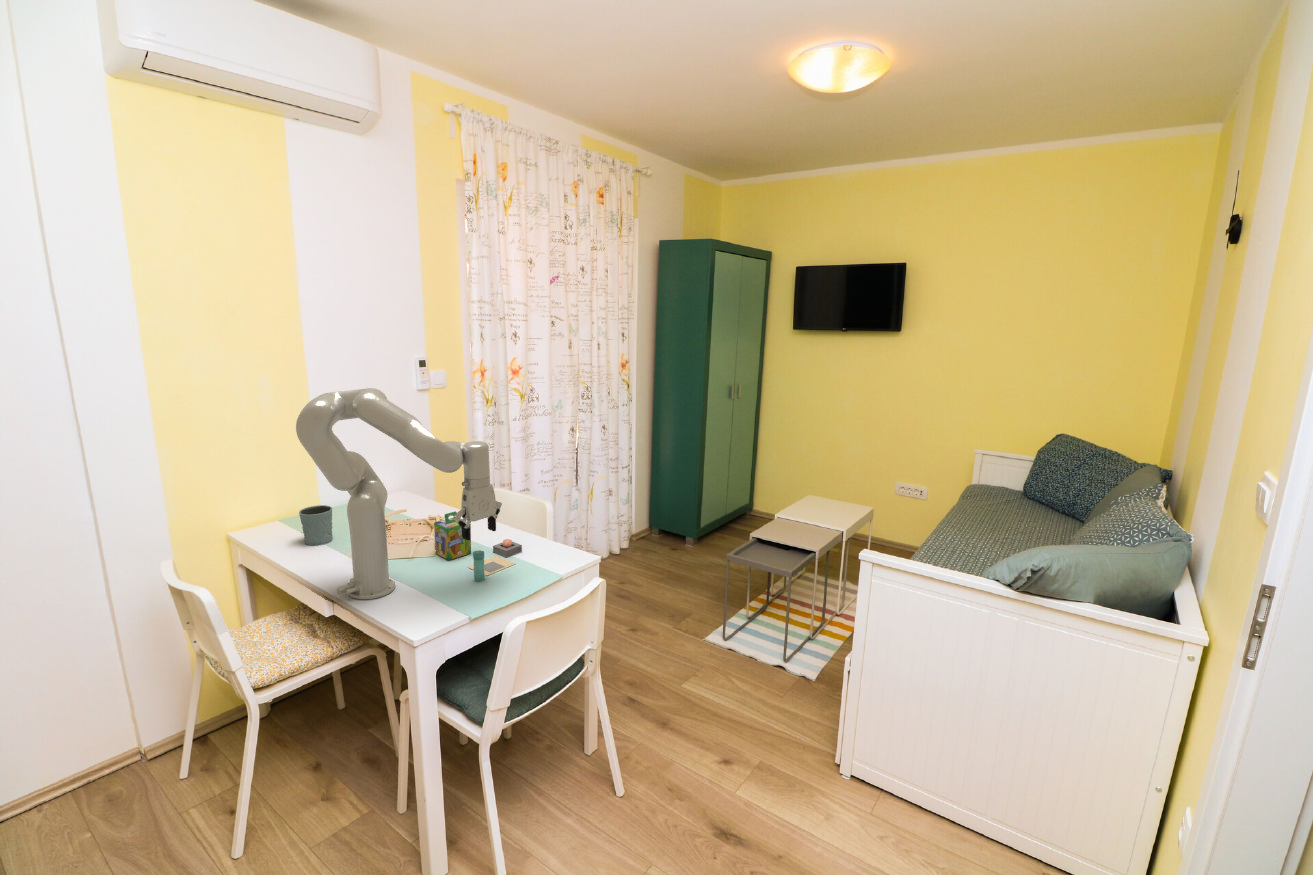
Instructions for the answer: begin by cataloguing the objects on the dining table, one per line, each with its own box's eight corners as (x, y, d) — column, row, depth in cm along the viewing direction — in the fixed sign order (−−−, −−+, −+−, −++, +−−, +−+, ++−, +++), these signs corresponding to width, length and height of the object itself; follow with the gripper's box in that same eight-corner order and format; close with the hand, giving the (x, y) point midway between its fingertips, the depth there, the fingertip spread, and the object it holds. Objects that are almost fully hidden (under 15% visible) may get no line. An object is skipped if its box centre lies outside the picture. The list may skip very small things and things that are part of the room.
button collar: (506, 557, 203) (506, 550, 202) (493, 552, 206) (492, 545, 206) (521, 551, 208) (521, 544, 208) (508, 546, 212) (508, 540, 212)
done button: (507, 550, 205) (506, 543, 204) (501, 547, 207) (501, 540, 206) (513, 547, 207) (513, 540, 207) (507, 545, 209) (507, 538, 209)
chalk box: (448, 561, 198) (446, 519, 195) (434, 553, 204) (432, 513, 201) (472, 553, 205) (471, 513, 202) (458, 546, 211) (456, 507, 208)
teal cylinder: (478, 582, 183) (477, 555, 182) (471, 579, 185) (470, 552, 183) (487, 578, 186) (486, 552, 184) (480, 575, 188) (479, 549, 186)
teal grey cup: (340, 537, 215) (338, 506, 212) (322, 547, 205) (319, 515, 202) (314, 535, 216) (311, 504, 213) (295, 545, 206) (292, 513, 203)
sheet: (487, 575, 188) (487, 575, 188) (467, 567, 194) (467, 566, 194) (515, 564, 198) (515, 563, 198) (496, 556, 203) (496, 555, 203)
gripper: (461, 490, 170) (463, 546, 174) (507, 478, 184) (509, 529, 188) (445, 486, 174) (448, 540, 178) (491, 474, 188) (493, 524, 192)
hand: (479, 534), depth 183 cm, fingers open, 9 cm apart
